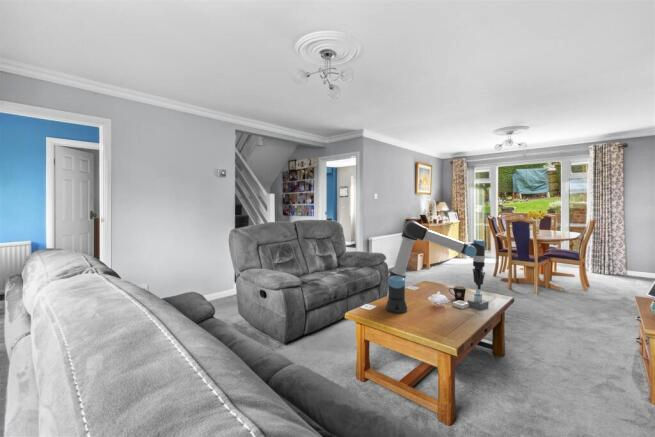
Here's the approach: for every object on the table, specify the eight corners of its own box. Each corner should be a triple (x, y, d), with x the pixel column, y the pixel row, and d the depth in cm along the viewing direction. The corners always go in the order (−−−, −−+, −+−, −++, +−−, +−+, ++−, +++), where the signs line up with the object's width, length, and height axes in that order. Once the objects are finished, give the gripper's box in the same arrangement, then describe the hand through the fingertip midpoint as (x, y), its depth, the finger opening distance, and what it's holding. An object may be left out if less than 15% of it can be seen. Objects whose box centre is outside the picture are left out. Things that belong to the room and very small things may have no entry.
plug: (474, 307, 228) (474, 293, 228) (477, 306, 230) (477, 292, 230) (478, 308, 225) (479, 295, 225) (481, 307, 227) (481, 294, 227)
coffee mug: (467, 300, 244) (468, 287, 243) (461, 302, 239) (461, 289, 238) (454, 296, 253) (454, 284, 253) (447, 298, 248) (448, 286, 248)
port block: (467, 306, 229) (467, 299, 229) (475, 304, 235) (475, 297, 234) (480, 310, 221) (480, 303, 221) (488, 308, 226) (488, 301, 226)
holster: (452, 306, 229) (452, 302, 229) (459, 304, 234) (459, 300, 234) (462, 310, 223) (462, 305, 223) (469, 307, 227) (469, 303, 227)
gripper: (488, 262, 220) (488, 295, 221) (479, 259, 232) (478, 290, 234) (478, 263, 219) (477, 296, 221) (469, 259, 232) (468, 290, 234)
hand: (478, 293), depth 227 cm, fingers closed
